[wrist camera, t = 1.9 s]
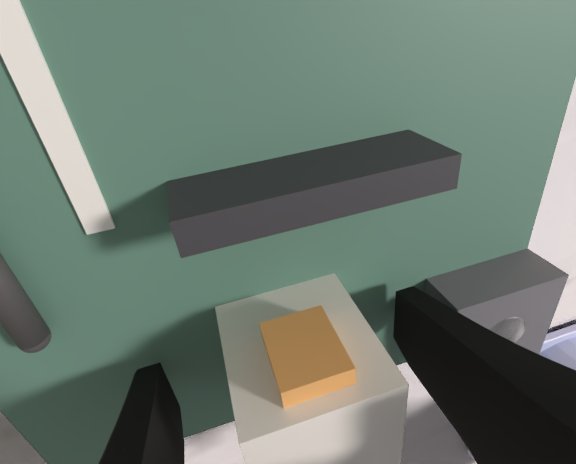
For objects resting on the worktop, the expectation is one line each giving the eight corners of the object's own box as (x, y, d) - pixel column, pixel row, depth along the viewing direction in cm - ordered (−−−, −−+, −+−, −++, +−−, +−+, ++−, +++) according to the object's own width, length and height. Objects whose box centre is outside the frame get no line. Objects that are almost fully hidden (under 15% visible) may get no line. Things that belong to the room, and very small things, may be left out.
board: (483, 309, 16) (546, 367, 13) (69, 443, 13) (45, 553, 10) (597, -188, 8) (807, -288, 5) (-395, -143, 5) (-1013, -319, 2)
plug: (339, 353, 13) (400, 470, 10) (238, 386, 12) (266, 524, 9) (333, 259, 11) (410, 368, 7) (210, 293, 10) (234, 429, 7)
